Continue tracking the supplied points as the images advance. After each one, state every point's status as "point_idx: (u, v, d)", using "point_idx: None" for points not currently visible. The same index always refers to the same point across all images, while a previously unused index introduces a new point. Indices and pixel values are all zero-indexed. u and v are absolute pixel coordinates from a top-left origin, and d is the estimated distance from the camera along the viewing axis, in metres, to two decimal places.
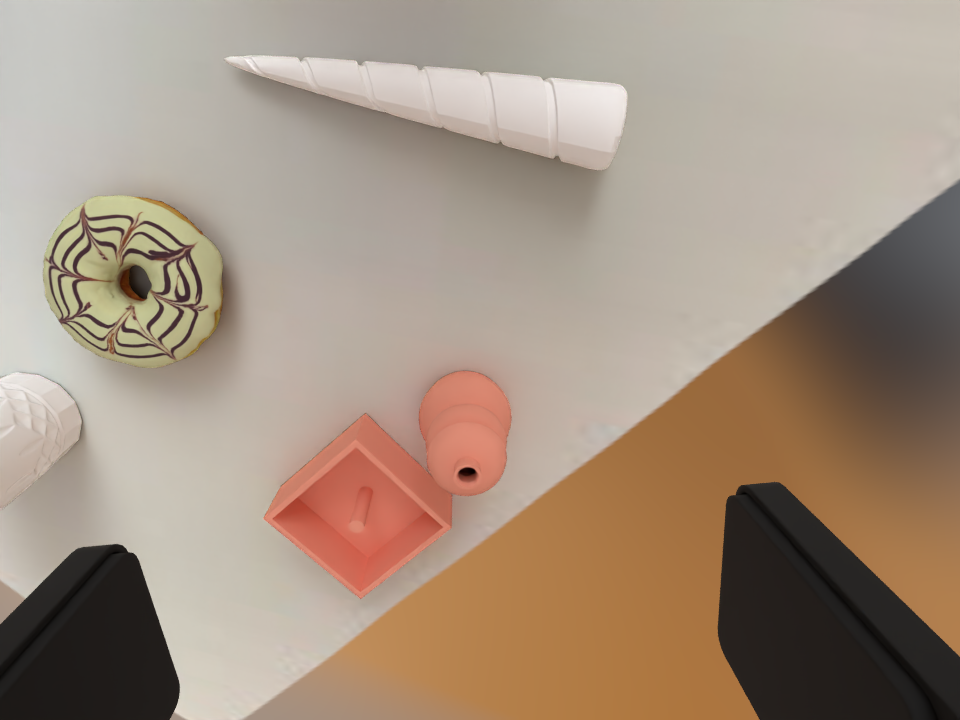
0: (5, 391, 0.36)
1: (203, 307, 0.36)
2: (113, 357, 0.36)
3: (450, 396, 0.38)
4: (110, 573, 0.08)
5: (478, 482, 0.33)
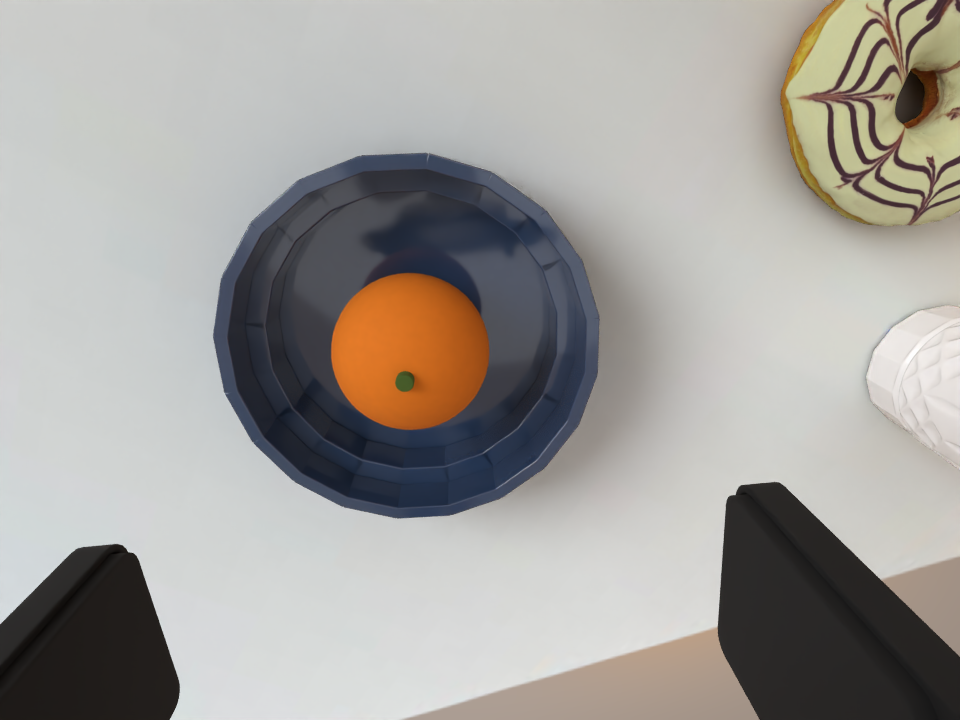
0: (946, 341, 0.26)
1: None
2: None
3: None
4: (110, 573, 0.08)
5: None
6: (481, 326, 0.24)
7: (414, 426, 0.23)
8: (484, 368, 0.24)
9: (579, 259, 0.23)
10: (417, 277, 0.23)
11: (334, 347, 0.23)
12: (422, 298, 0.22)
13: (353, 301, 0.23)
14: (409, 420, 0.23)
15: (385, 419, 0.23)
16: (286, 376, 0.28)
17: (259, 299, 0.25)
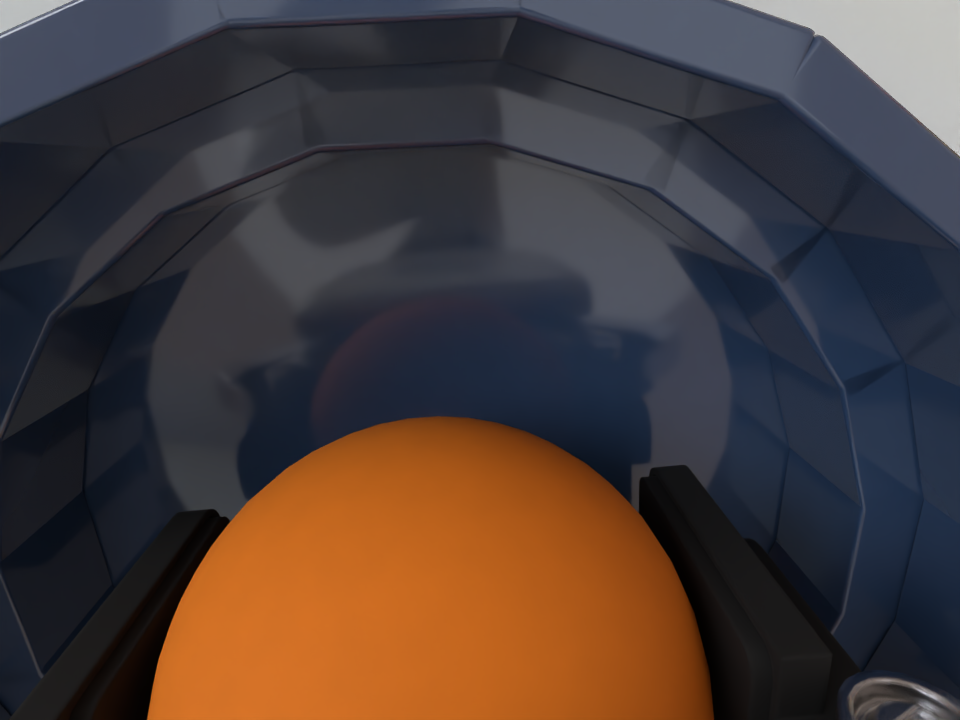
0: None
1: None
2: None
3: None
4: (211, 533, 0.09)
5: None
6: (697, 629, 0.07)
7: None
8: None
9: None
10: (466, 465, 0.06)
11: None
12: (498, 601, 0.05)
13: (219, 566, 0.06)
14: None
15: None
16: None
17: None
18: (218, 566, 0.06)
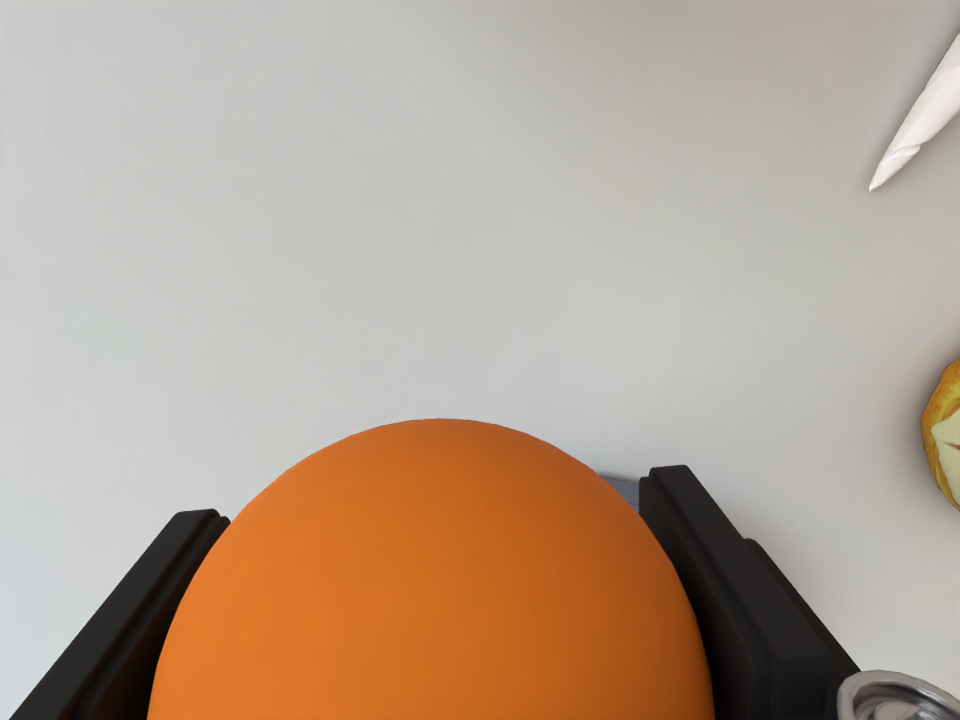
0: None
1: None
2: None
3: None
4: (211, 533, 0.09)
5: None
6: (698, 633, 0.07)
7: None
8: None
9: None
10: (466, 468, 0.06)
11: None
12: (499, 608, 0.05)
13: (218, 570, 0.06)
14: None
15: None
16: None
17: None
18: (217, 570, 0.06)
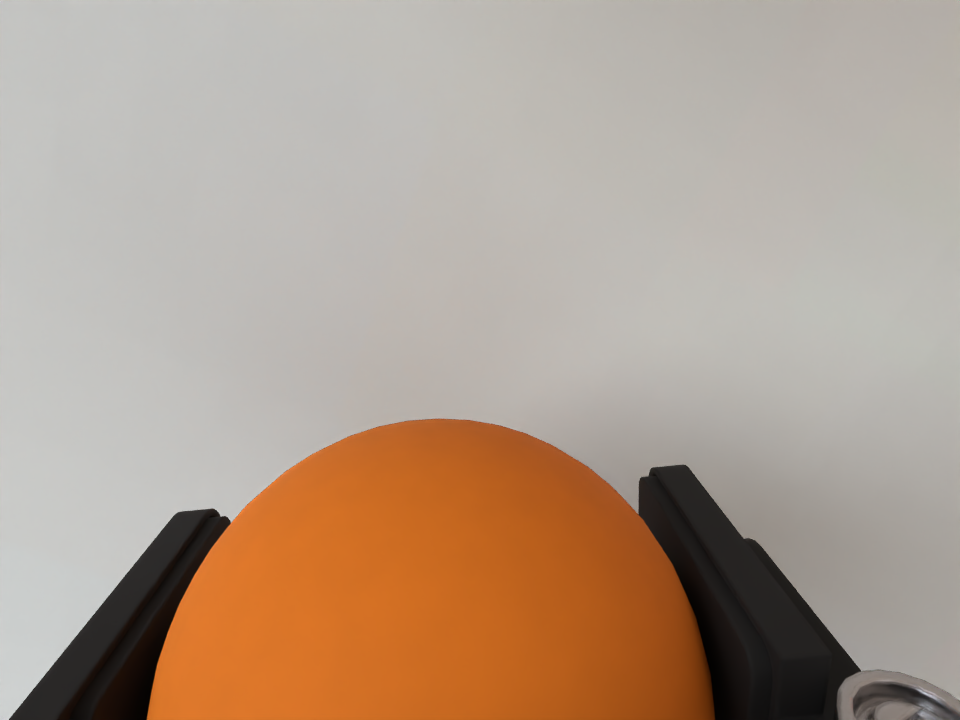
0: None
1: None
2: None
3: None
4: (211, 533, 0.09)
5: None
6: (698, 634, 0.06)
7: None
8: None
9: None
10: (466, 468, 0.06)
11: None
12: (498, 608, 0.05)
13: (218, 570, 0.06)
14: None
15: None
16: None
17: None
18: (217, 570, 0.06)
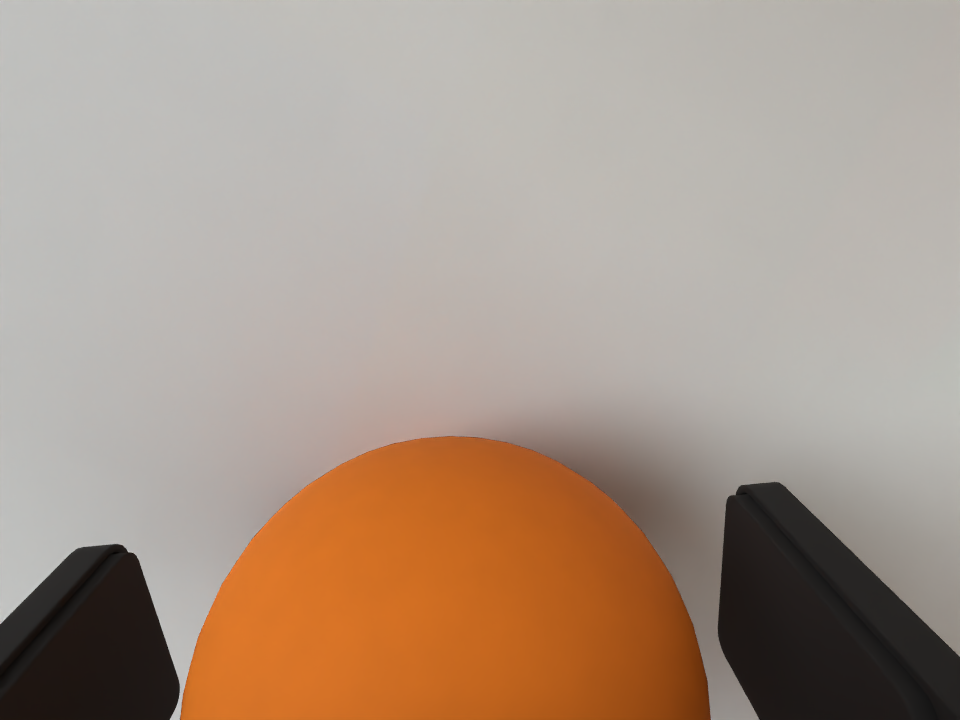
0: None
1: None
2: None
3: None
4: (110, 573, 0.08)
5: None
6: (695, 641, 0.07)
7: None
8: None
9: None
10: (479, 486, 0.07)
11: None
12: (511, 617, 0.05)
13: (249, 580, 0.06)
14: None
15: None
16: None
17: None
18: (247, 580, 0.06)
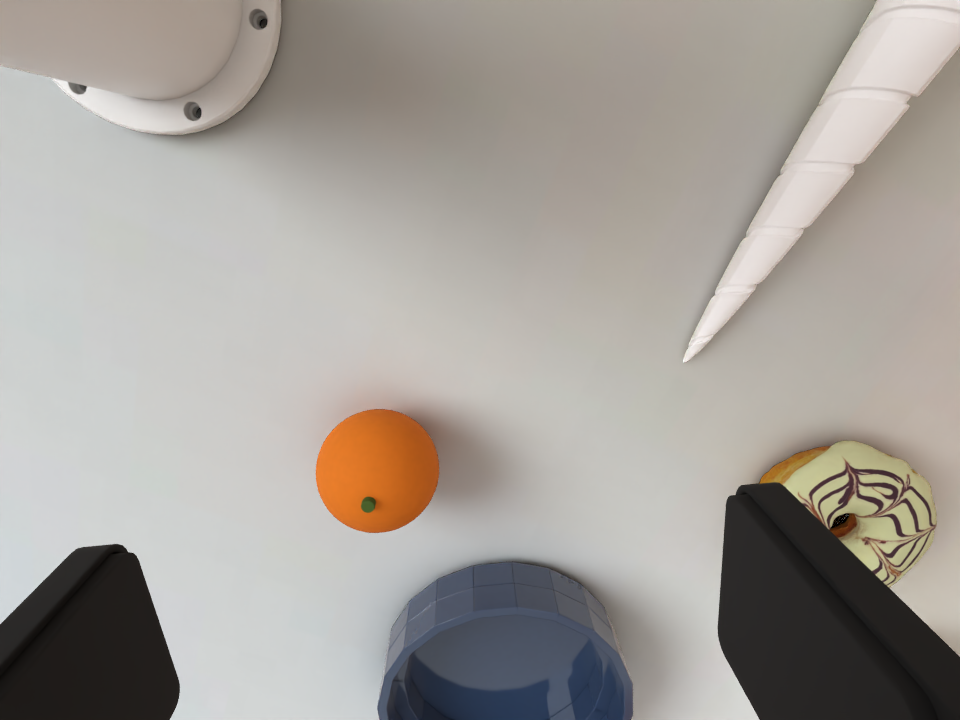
0: None
1: (908, 479, 0.33)
2: (902, 575, 0.36)
3: None
4: (110, 573, 0.08)
5: None
6: (429, 451, 0.31)
7: (380, 531, 0.31)
8: (433, 483, 0.31)
9: (617, 654, 0.35)
10: (378, 417, 0.31)
11: (317, 474, 0.30)
12: (380, 438, 0.29)
13: (330, 439, 0.30)
14: (376, 528, 0.30)
15: (357, 528, 0.30)
16: (414, 700, 0.40)
17: None
18: (330, 439, 0.30)
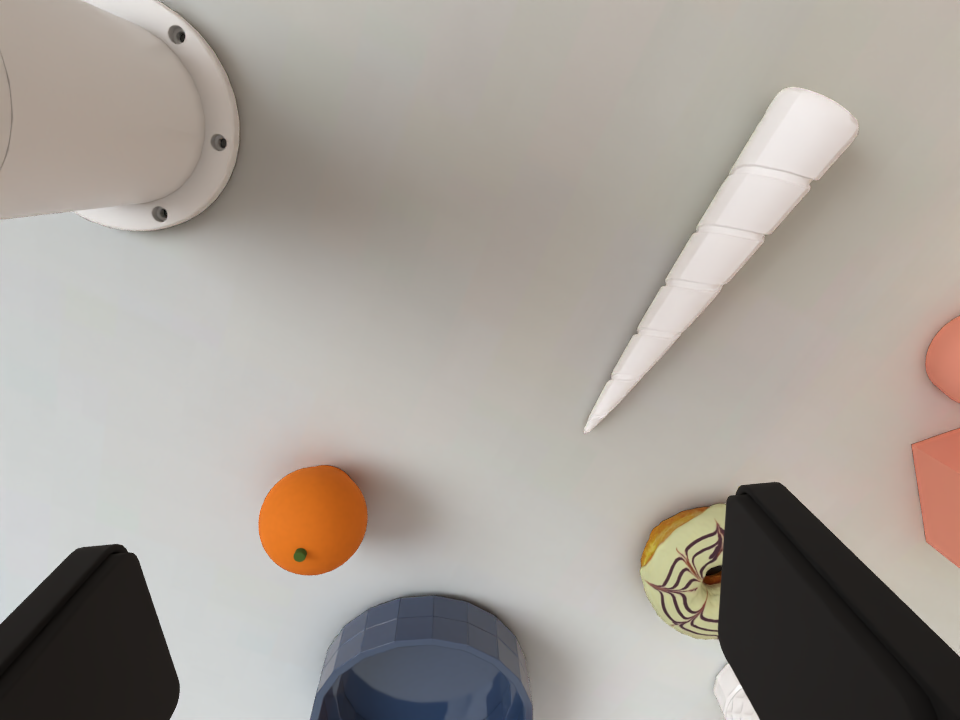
0: (747, 698, 0.44)
1: None
2: None
3: None
4: (110, 573, 0.08)
5: None
6: (357, 507, 0.36)
7: (312, 574, 0.36)
8: (360, 534, 0.36)
9: (519, 679, 0.41)
10: (314, 477, 0.36)
11: (259, 524, 0.35)
12: (313, 497, 0.34)
13: (271, 494, 0.35)
14: (307, 573, 0.35)
15: (292, 572, 0.35)
16: (346, 712, 0.45)
17: (333, 684, 0.43)
18: (271, 494, 0.35)
